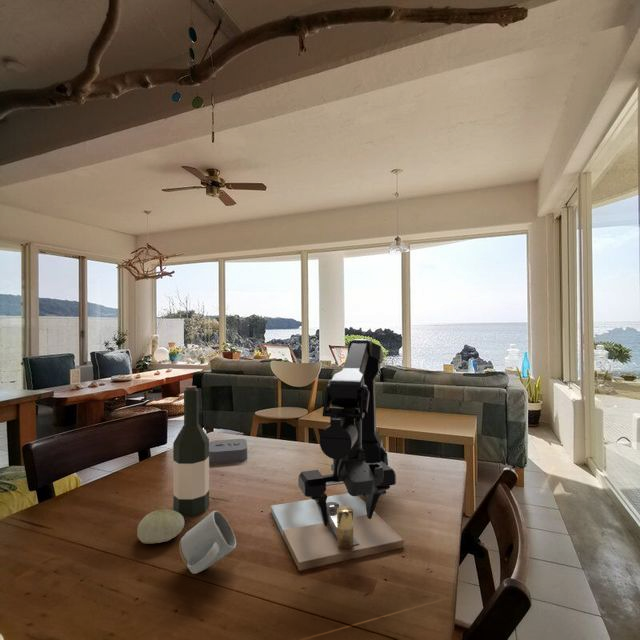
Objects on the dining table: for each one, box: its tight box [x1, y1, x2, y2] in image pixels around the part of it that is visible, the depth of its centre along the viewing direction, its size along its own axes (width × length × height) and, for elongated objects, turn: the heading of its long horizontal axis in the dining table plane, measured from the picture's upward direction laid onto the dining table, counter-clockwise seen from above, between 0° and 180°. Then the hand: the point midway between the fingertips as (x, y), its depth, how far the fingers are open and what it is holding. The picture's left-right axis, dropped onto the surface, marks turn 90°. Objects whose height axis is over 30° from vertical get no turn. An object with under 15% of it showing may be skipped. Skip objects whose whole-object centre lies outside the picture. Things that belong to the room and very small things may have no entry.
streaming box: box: [209, 438, 248, 465], centre depth 134 cm, size 13×13×5 cm
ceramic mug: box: [178, 510, 237, 575], centre depth 72 cm, size 11×8×8 cm
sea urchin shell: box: [136, 508, 186, 545], centre depth 84 cm, size 9×8×8 cm
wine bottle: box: [172, 385, 210, 518], centre depth 97 cm, size 8×8×30 cm
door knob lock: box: [326, 502, 353, 548], centre depth 82 cm, size 13×3×6 cm, turn 14°
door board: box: [270, 492, 405, 571], centre depth 87 cm, size 22×24×2 cm
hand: (347, 521), depth 78 cm, fingers open, 9 cm apart
